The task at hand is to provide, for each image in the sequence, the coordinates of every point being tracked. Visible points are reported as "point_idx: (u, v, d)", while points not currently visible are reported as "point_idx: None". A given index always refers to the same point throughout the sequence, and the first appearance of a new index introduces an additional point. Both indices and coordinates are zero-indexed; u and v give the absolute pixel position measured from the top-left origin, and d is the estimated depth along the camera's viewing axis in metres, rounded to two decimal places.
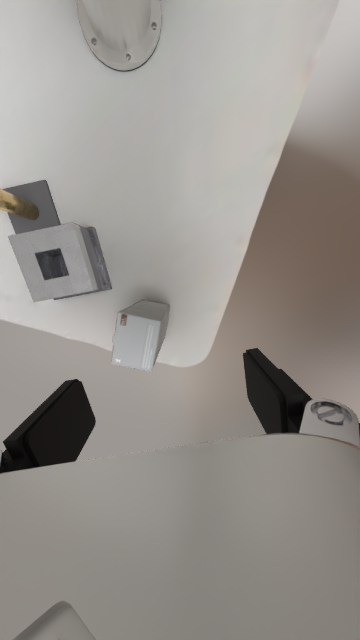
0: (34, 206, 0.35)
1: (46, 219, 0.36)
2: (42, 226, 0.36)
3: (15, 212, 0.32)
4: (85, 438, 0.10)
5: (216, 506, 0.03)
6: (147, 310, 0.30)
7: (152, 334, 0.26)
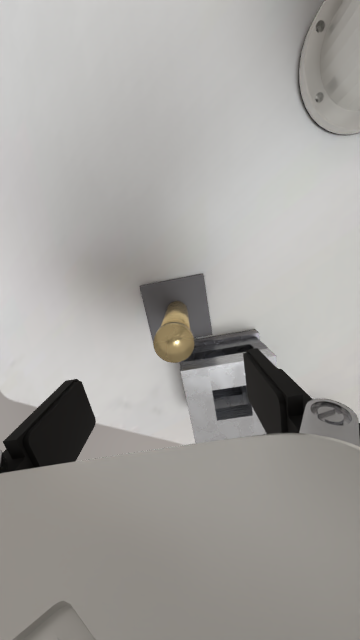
0: (186, 307, 0.26)
1: (195, 320, 0.27)
2: None
3: None
4: (85, 438, 0.10)
5: (217, 505, 0.03)
6: None
7: None
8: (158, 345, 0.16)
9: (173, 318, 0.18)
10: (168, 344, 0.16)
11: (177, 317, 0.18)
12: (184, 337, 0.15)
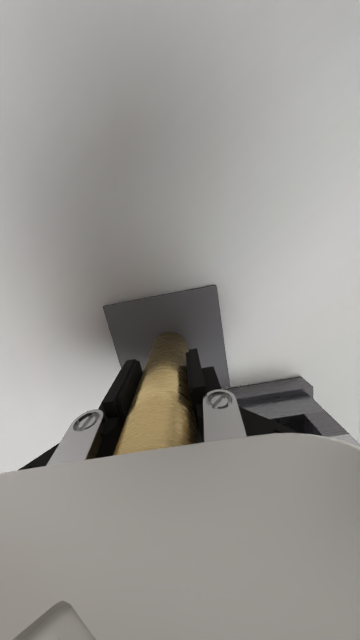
0: (186, 345, 0.15)
1: (201, 363, 0.16)
2: None
3: None
4: None
5: (216, 505, 0.03)
6: None
7: None
8: None
9: (152, 422, 0.06)
10: None
11: (164, 413, 0.07)
12: None
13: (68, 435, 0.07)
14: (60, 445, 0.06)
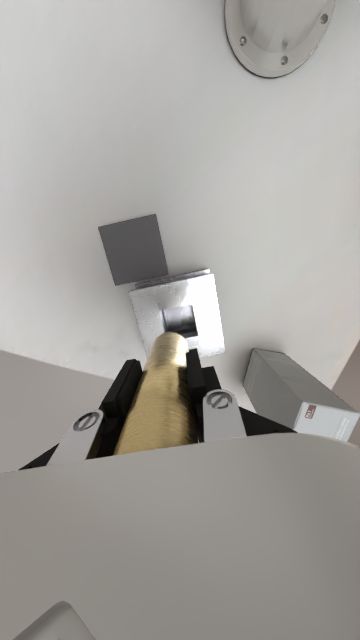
0: (186, 345, 0.15)
1: (151, 260, 0.30)
2: (146, 268, 0.30)
3: None
4: None
5: (217, 506, 0.03)
6: (306, 382, 0.24)
7: (346, 428, 0.20)
8: None
9: (151, 422, 0.06)
10: None
11: (164, 413, 0.07)
12: None
13: (68, 435, 0.07)
14: (60, 445, 0.06)
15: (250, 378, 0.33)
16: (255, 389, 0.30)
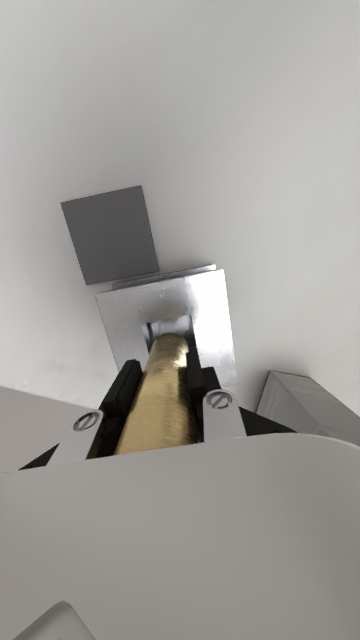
0: (186, 345, 0.15)
1: (136, 250, 0.22)
2: (128, 262, 0.22)
3: None
4: None
5: (217, 506, 0.03)
6: None
7: None
8: None
9: (152, 423, 0.06)
10: None
11: (164, 414, 0.07)
12: None
13: (68, 435, 0.07)
14: (60, 445, 0.06)
15: (267, 412, 0.25)
16: None
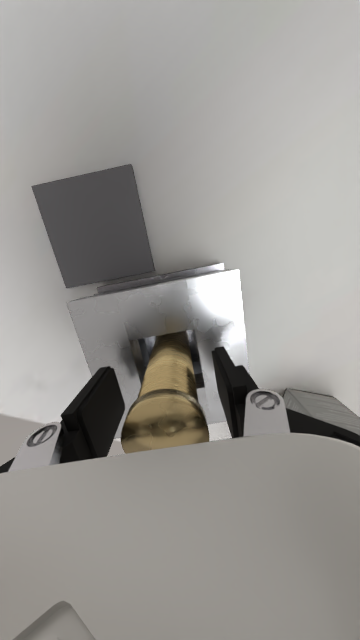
0: (186, 331, 0.18)
1: (126, 246, 0.18)
2: (116, 260, 0.18)
3: None
4: (119, 420, 0.11)
5: (217, 506, 0.03)
6: None
7: None
8: (132, 442, 0.07)
9: (165, 369, 0.09)
10: (153, 440, 0.07)
11: (172, 365, 0.10)
12: (189, 427, 0.07)
13: (22, 452, 0.06)
14: (14, 464, 0.06)
15: None
16: None
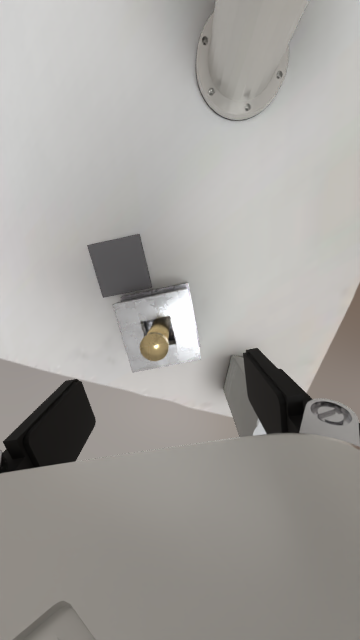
0: (169, 319, 0.33)
1: (136, 274, 0.33)
2: (131, 282, 0.33)
3: None
4: (85, 438, 0.10)
5: (217, 506, 0.03)
6: None
7: None
8: (143, 349, 0.22)
9: (155, 329, 0.24)
10: (150, 348, 0.22)
11: (158, 328, 0.25)
12: (161, 343, 0.22)
13: None
14: None
15: (228, 383, 0.35)
16: (232, 393, 0.32)
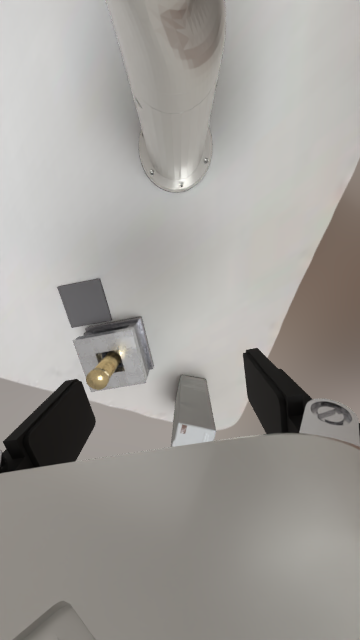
0: None
1: (98, 310, 0.40)
2: (94, 316, 0.40)
3: None
4: (85, 438, 0.10)
5: (217, 506, 0.03)
6: (197, 406, 0.34)
7: (208, 440, 0.30)
8: (88, 381, 0.29)
9: (101, 363, 0.32)
10: (94, 380, 0.29)
11: (105, 362, 0.32)
12: (102, 377, 0.29)
13: None
14: None
15: (176, 398, 0.43)
16: None
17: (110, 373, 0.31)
